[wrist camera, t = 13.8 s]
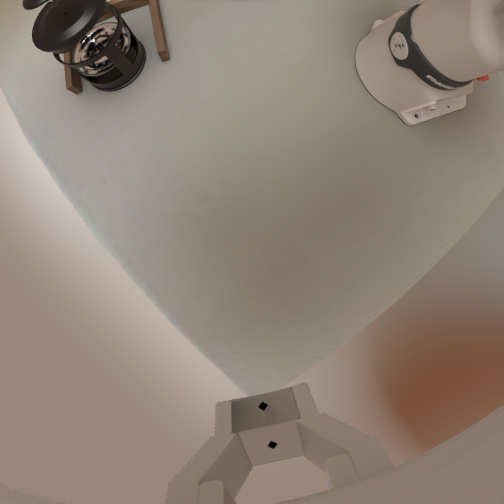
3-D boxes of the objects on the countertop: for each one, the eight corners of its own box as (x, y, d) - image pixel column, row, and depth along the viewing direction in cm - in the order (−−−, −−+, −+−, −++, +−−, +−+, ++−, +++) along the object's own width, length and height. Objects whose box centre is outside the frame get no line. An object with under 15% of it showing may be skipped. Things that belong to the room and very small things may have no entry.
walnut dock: (157, -4, 33) (153, -15, 30) (169, 59, 36) (165, 50, 33) (71, 30, 33) (62, 22, 29) (76, 94, 36) (66, 88, 32)
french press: (162, 56, 36) (111, -36, 13) (118, 105, 37) (29, 49, 15) (111, 24, 33) (47, -56, 11) (71, 69, 35) (-18, 14, 12)
